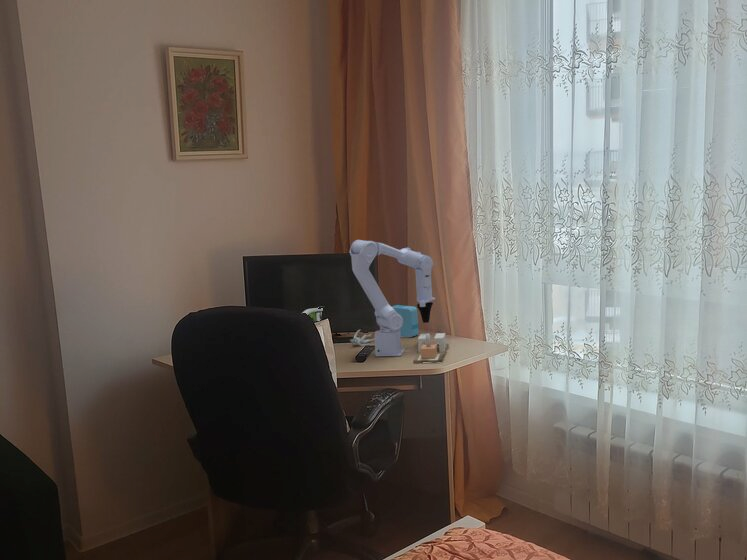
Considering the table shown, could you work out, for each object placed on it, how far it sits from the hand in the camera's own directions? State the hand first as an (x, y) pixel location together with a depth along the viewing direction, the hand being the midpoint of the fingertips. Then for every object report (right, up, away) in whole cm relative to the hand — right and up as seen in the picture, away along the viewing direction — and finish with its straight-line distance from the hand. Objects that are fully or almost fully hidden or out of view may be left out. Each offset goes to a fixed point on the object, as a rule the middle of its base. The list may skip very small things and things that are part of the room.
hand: (426, 322), depth 285 cm
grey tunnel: (+2, -11, -8) cm, 13 cm away
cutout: (-39, -9, +28) cm, 49 cm away
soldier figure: (-24, -10, +13) cm, 29 cm away
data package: (-7, -7, +23) cm, 25 cm away
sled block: (0, -11, -18) cm, 21 cm away
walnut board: (+1, -11, -11) cm, 16 cm away
